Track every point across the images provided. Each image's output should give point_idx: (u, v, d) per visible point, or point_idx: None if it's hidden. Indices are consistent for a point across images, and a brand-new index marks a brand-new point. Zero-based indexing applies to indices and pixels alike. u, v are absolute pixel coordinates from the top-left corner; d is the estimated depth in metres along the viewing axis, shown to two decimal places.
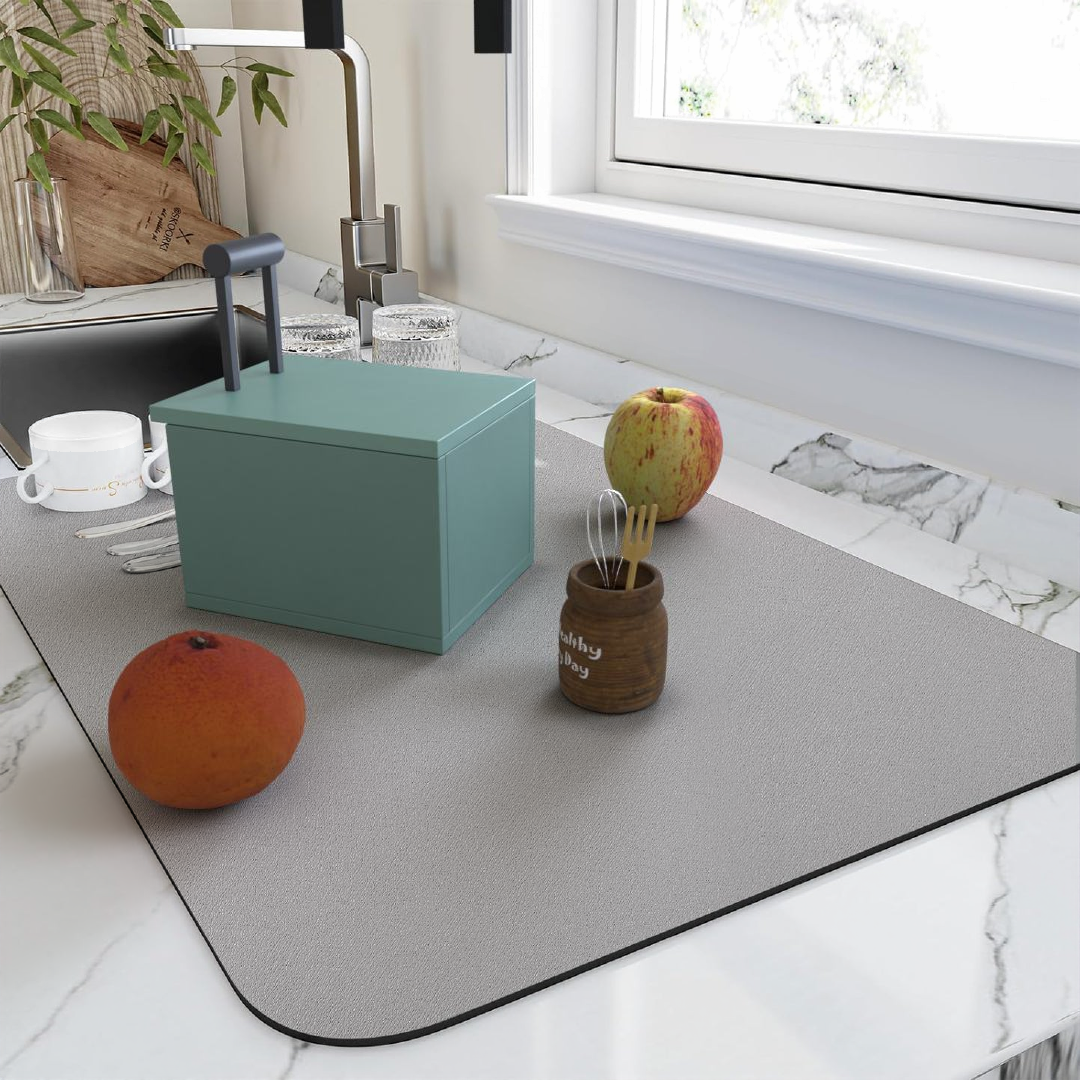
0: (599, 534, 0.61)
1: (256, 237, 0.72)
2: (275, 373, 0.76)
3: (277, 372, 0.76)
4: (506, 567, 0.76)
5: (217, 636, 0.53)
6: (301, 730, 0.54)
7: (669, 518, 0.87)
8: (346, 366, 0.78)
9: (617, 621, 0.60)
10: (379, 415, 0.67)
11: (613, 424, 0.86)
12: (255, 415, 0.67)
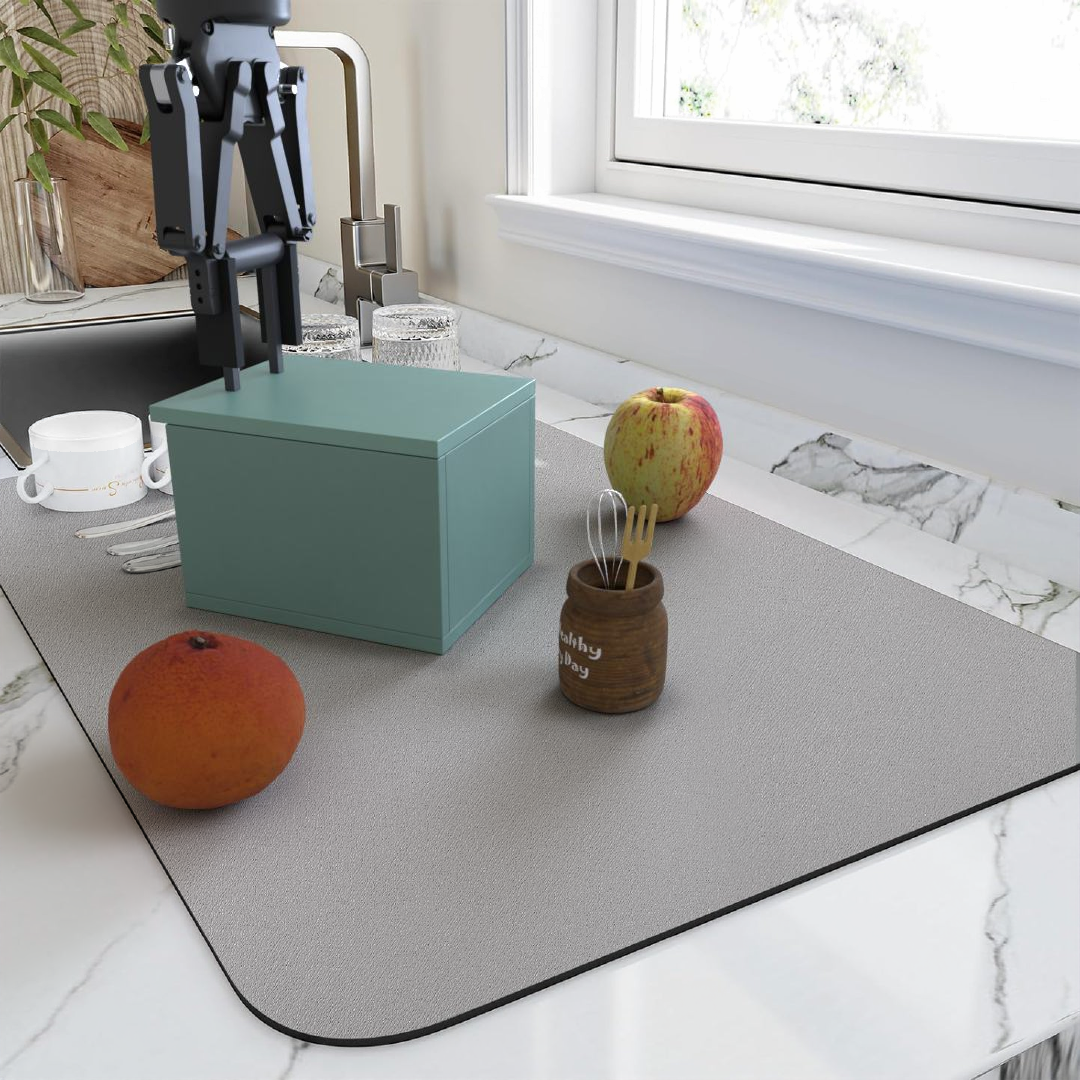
0: (599, 534, 0.61)
1: (256, 237, 0.72)
2: (275, 373, 0.76)
3: (277, 372, 0.76)
4: (506, 567, 0.76)
5: (217, 636, 0.53)
6: (301, 730, 0.54)
7: (669, 518, 0.87)
8: (346, 366, 0.78)
9: (617, 620, 0.60)
10: (379, 415, 0.67)
11: (613, 424, 0.86)
12: (255, 415, 0.67)
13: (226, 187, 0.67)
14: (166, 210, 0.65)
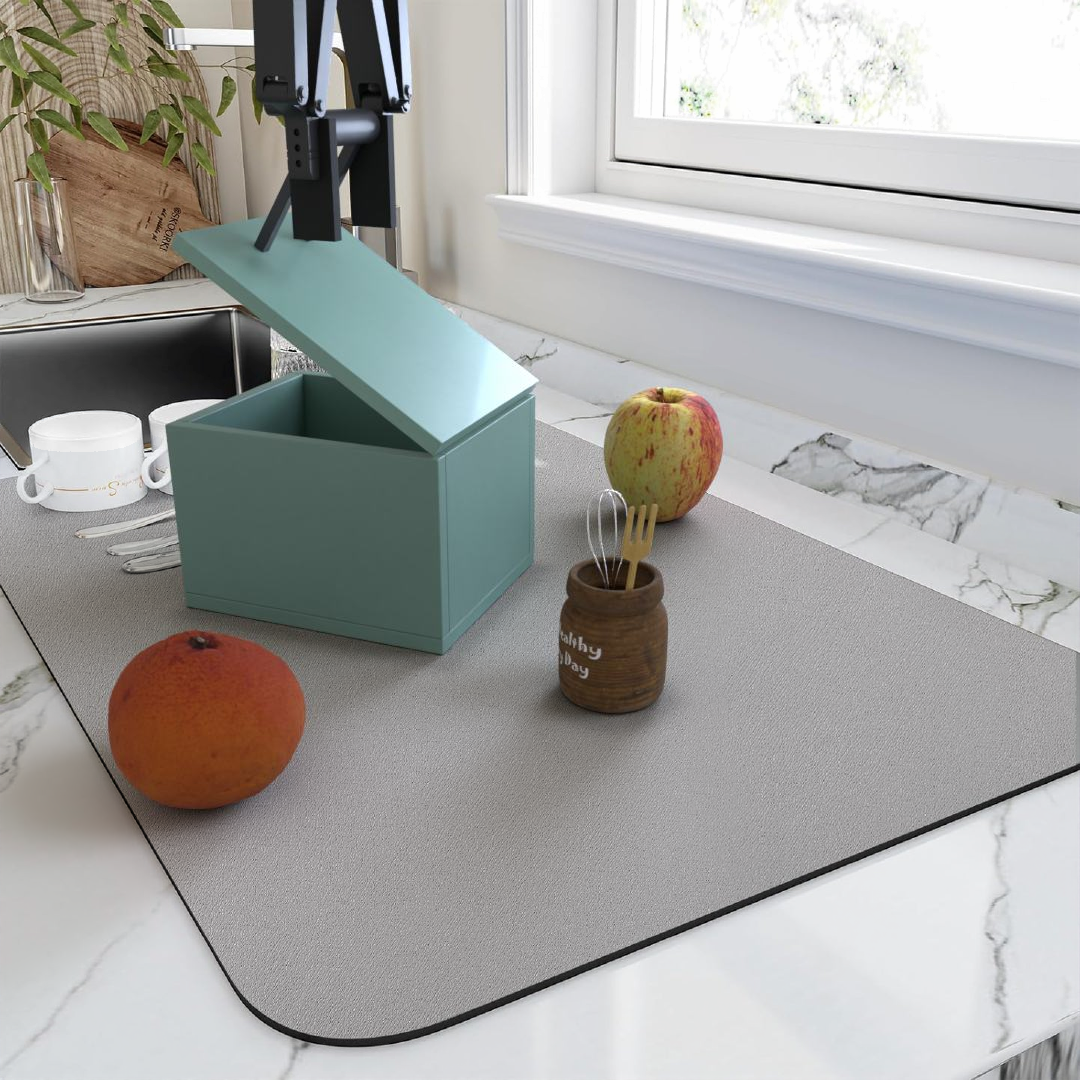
0: (599, 534, 0.61)
1: (360, 116, 0.67)
2: (304, 240, 0.72)
3: (307, 240, 0.72)
4: (506, 567, 0.76)
5: (217, 636, 0.53)
6: (301, 730, 0.54)
7: (669, 518, 0.87)
8: (372, 263, 0.75)
9: (617, 620, 0.60)
10: (395, 369, 0.66)
11: (613, 424, 0.86)
12: (279, 308, 0.64)
13: (329, 38, 0.62)
14: (267, 58, 0.59)
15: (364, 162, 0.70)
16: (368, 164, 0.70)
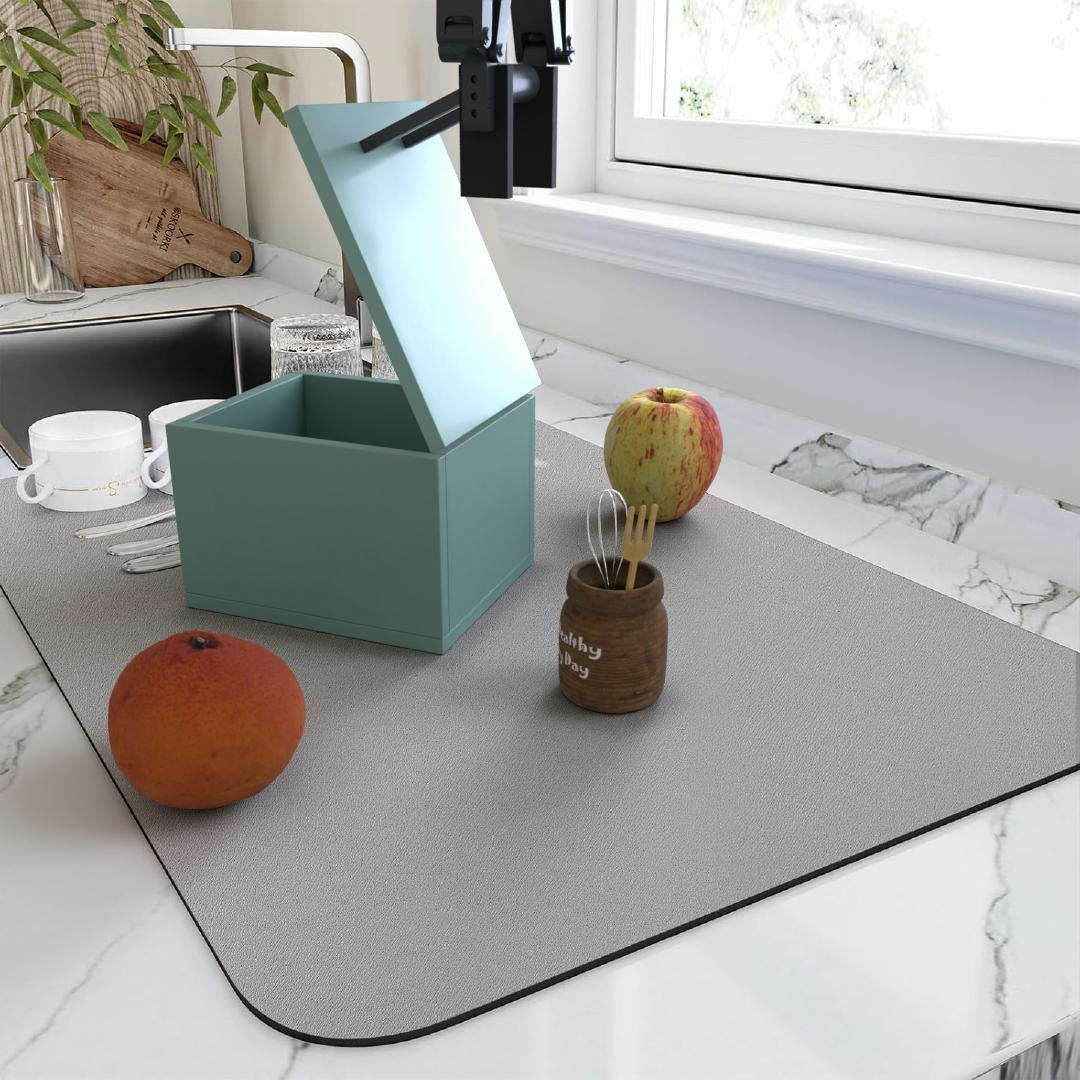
0: (599, 534, 0.61)
1: (527, 81, 0.63)
2: (404, 145, 0.68)
3: (406, 146, 0.68)
4: (506, 567, 0.76)
5: (217, 636, 0.53)
6: (301, 730, 0.54)
7: (669, 518, 0.87)
8: (451, 194, 0.71)
9: (617, 620, 0.60)
10: (433, 342, 0.65)
11: (613, 424, 0.86)
12: (359, 235, 0.61)
13: None
14: None
15: (525, 117, 0.65)
16: (529, 119, 0.65)
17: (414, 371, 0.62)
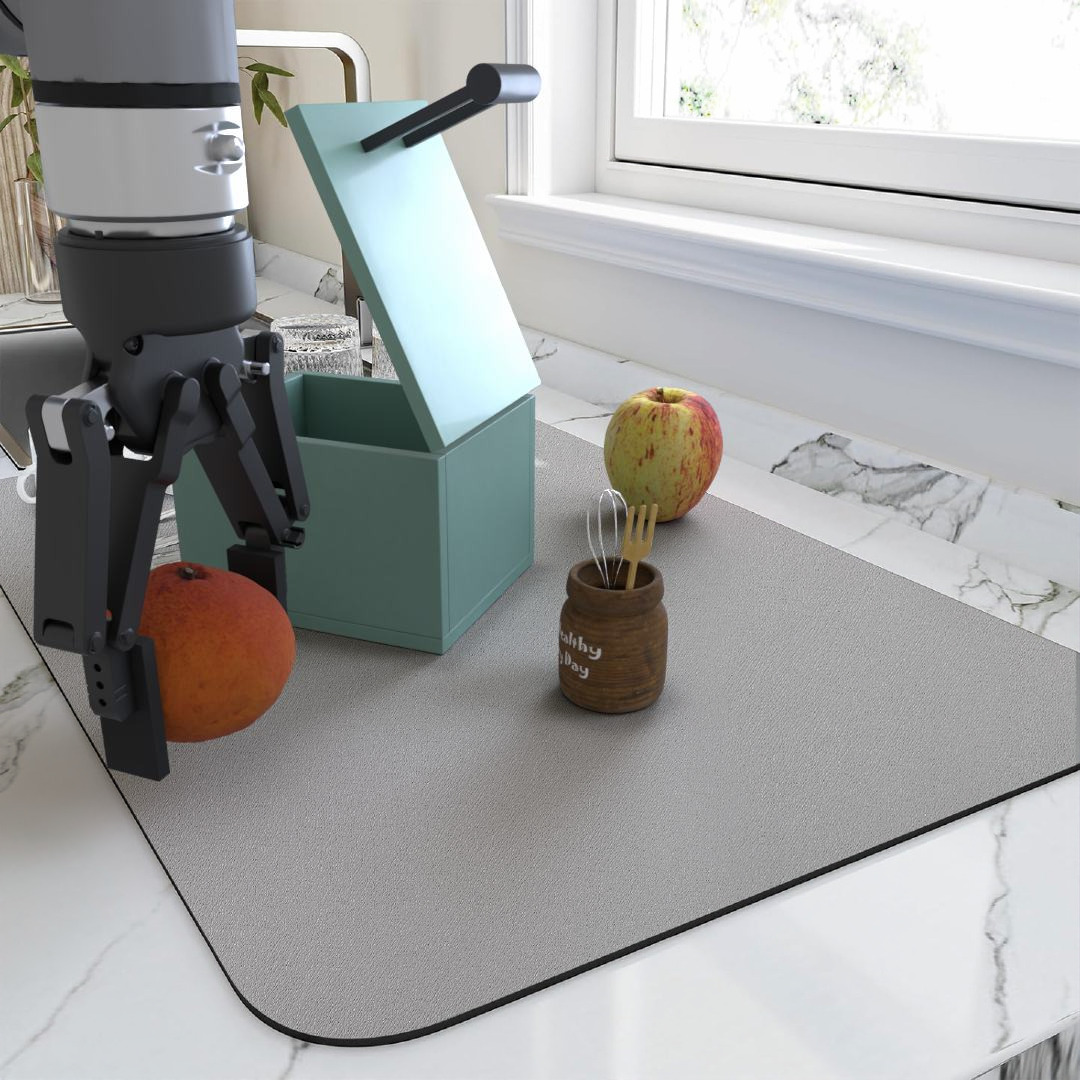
0: (599, 534, 0.61)
1: (528, 82, 0.63)
2: (404, 145, 0.68)
3: (407, 146, 0.68)
4: (506, 567, 0.76)
5: (206, 568, 0.52)
6: (291, 665, 0.53)
7: (669, 518, 0.87)
8: (452, 193, 0.71)
9: (617, 620, 0.60)
10: (433, 342, 0.65)
11: (613, 424, 0.86)
12: (360, 235, 0.61)
13: (148, 549, 0.46)
14: (50, 596, 0.44)
15: None
16: None
17: (414, 371, 0.62)
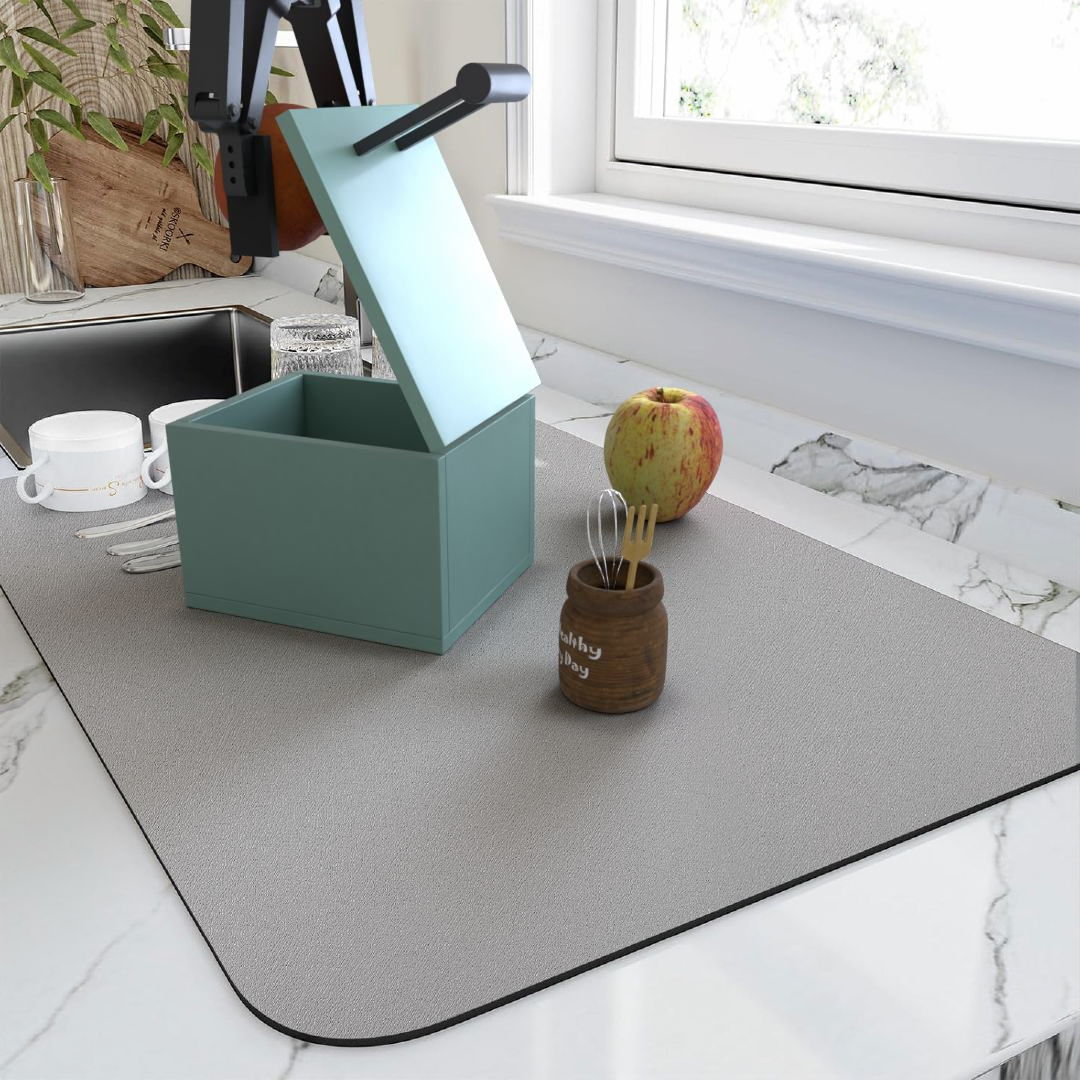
0: (599, 534, 0.61)
1: (518, 80, 0.63)
2: (397, 148, 0.68)
3: (400, 149, 0.68)
4: (506, 567, 0.76)
5: None
6: None
7: (669, 518, 0.87)
8: (447, 196, 0.72)
9: (617, 620, 0.60)
10: (431, 343, 0.65)
11: (613, 424, 0.86)
12: (354, 237, 0.61)
13: (268, 61, 0.62)
14: (201, 74, 0.60)
15: None
16: None
17: (412, 372, 0.62)
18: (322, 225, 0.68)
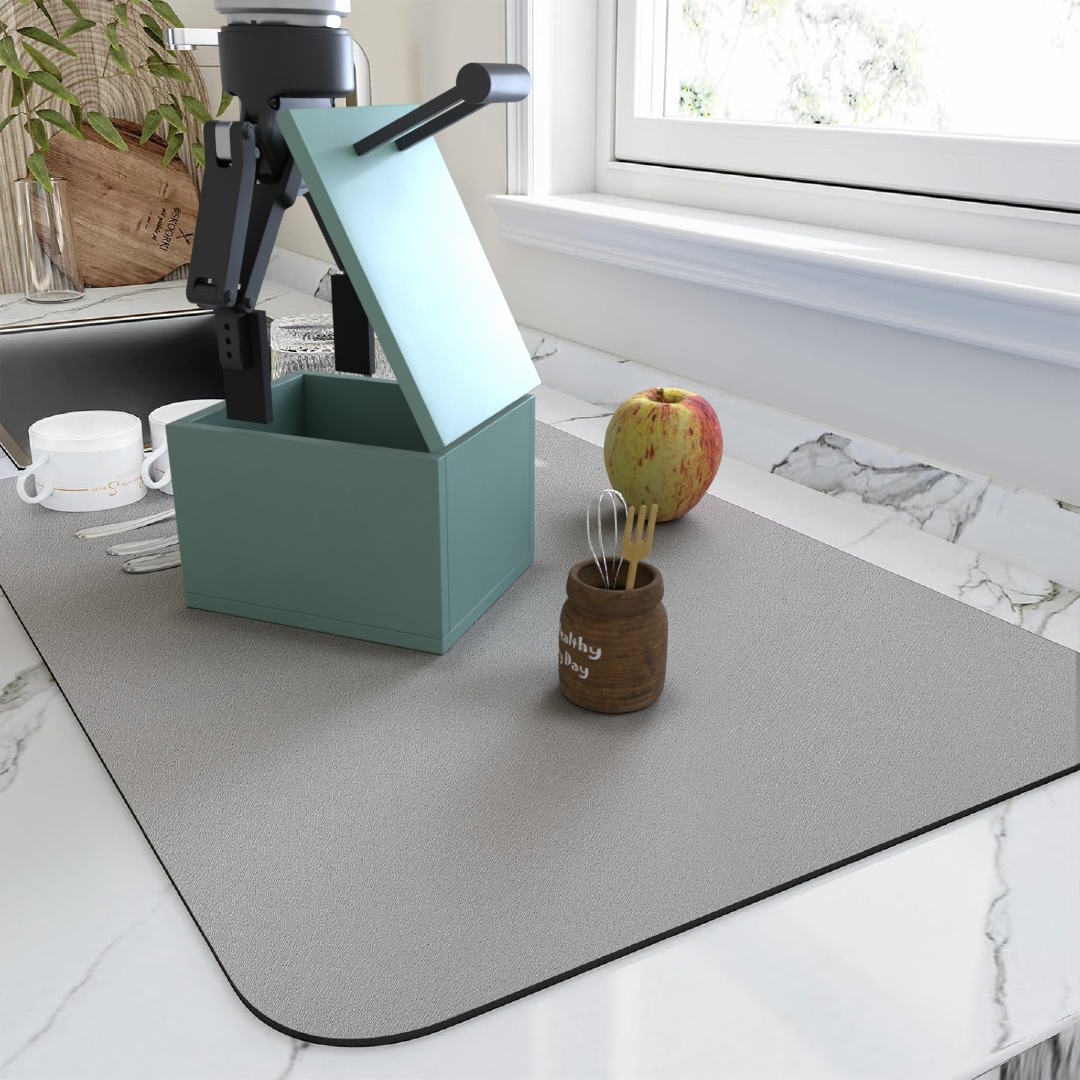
0: (599, 534, 0.61)
1: (518, 80, 0.63)
2: (397, 148, 0.68)
3: (400, 149, 0.68)
4: (506, 567, 0.76)
5: None
6: None
7: (669, 518, 0.87)
8: (447, 196, 0.72)
9: (617, 621, 0.60)
10: (431, 343, 0.65)
11: (613, 424, 0.86)
12: (354, 237, 0.61)
13: (269, 247, 0.65)
14: (202, 261, 0.62)
15: (346, 317, 0.77)
16: (349, 319, 0.77)
17: (412, 372, 0.62)
18: None
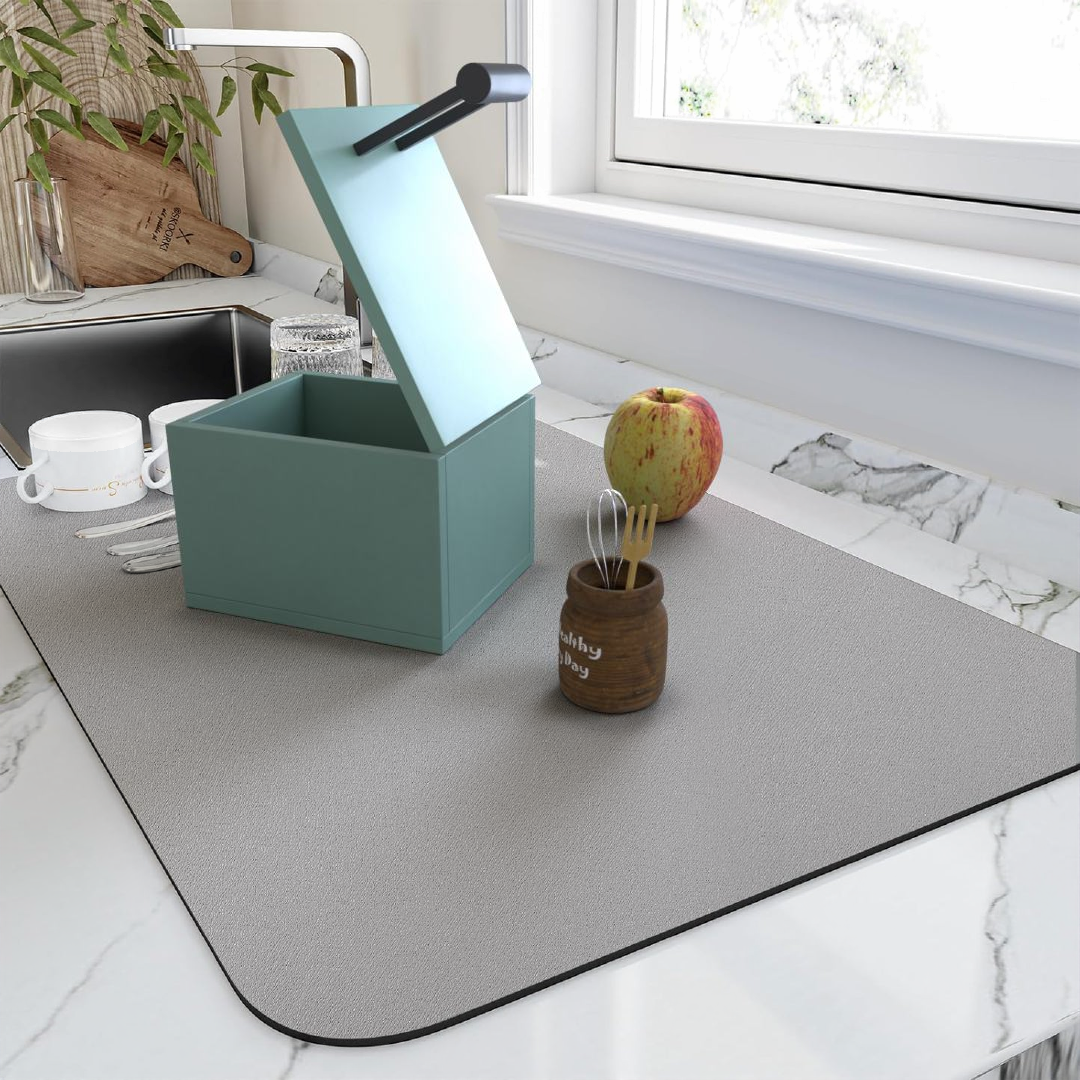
0: (599, 534, 0.61)
1: (518, 80, 0.63)
2: (397, 148, 0.68)
3: (400, 149, 0.68)
4: (506, 567, 0.76)
5: None
6: None
7: (669, 518, 0.87)
8: (447, 196, 0.72)
9: (617, 620, 0.60)
10: (431, 343, 0.65)
11: (613, 424, 0.86)
12: (354, 237, 0.61)
13: None
14: None
15: None
16: None
17: (412, 372, 0.62)
18: None
